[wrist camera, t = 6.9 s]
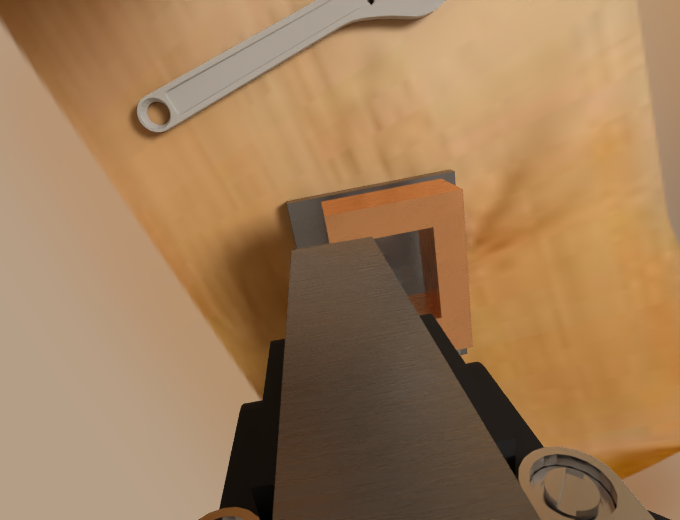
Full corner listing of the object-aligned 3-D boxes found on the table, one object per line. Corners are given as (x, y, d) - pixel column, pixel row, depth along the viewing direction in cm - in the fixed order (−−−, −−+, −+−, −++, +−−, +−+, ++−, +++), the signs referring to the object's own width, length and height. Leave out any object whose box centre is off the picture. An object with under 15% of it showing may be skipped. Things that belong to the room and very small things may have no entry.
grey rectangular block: (291, 250, 12) (242, 959, 2) (371, 236, 12) (734, 843, 2) (316, 372, 14) (363, 1130, 3) (387, 359, 14) (637, 1058, 4)
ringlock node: (285, 192, 33) (273, 253, 19) (449, 160, 34) (556, 197, 20) (326, 375, 40) (341, 519, 26) (463, 348, 40) (549, 474, 26)
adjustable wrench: (158, 139, 31) (149, 140, 30) (109, 54, 29) (97, 50, 27) (457, 2, 30) (466, -4, 28) (431, -100, 28) (439, -113, 26)
